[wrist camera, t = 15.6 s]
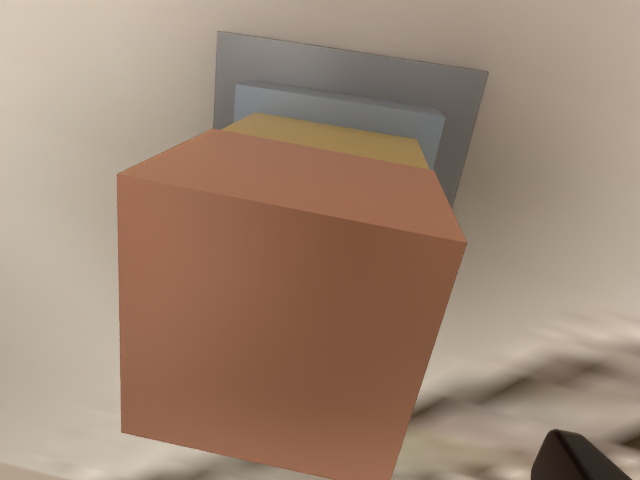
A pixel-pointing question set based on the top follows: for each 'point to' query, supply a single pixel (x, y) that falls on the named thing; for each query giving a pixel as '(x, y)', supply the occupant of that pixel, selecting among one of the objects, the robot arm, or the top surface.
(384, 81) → the baseplate
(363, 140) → the mustard brick
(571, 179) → the top surface
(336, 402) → the terracotta brick
